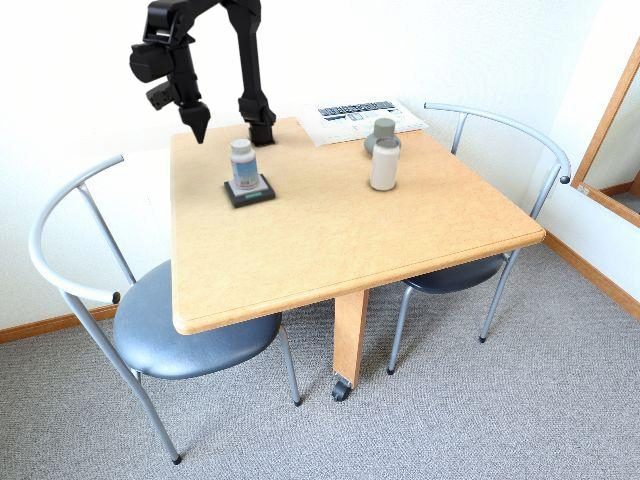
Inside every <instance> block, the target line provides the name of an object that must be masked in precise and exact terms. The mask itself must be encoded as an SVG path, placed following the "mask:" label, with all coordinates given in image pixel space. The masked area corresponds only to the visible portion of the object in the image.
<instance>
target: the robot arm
mask: <svg viewBox="0 0 640 480" xmlns="http://www.w3.org/2000/svg"><path fill="white" fill-rule="evenodd" d="M217 5H220V6H221V7H222V8H223V9H225V10H226V13H227V16H228V21H229V23H230V25H231V26H232V28H233V30H234V31H235V33H236V37H237V45H238V53H239V61H240V70H241V78H242V86H243V91H242V94H241V96H240V97H238V98H237V104H238V112H239V114H240V116H241V117H242V119H243V121H244V123H245V124H249V126H248V128H247V130H248V136H249V137H248V138H249V141H250V142H251V144H253V146H254V147H255V148H258V147H262V146H269V145H273V144H276V141H275V140H274V134H273V126H275V124H276V122H277V115H276V113H275V112H274V111H273V110H272V109H271V108H270V104H269V99H268V98H267V96H266V94H265V92H264V91H263V90H262V81H261V71H260V61H259V60H260V59H259V50H258V49H259V48H258V38H257V37H258V36H257V31H258V30H259V27H260V24H261V23H262V3H261V0H153V1H151V2H150V3H149V4H148V5H147V7H146V8H147V13H146V20H145V25H144V29H143V35H142V42H143V43H134V44H131V46H130V49H131V53H130V54H129V59H128V60H129V61H128V62H129V63H128V66H129V68H130V71H131V72H132V74H133V76H134V77H135V78H136V79H137V80H138V81H139V82H141V83H143V84H149V83H152V82H153V81H157V80H159V79H162V78H165V77H166V79H167V80H166V81H164V82H161V83H160V84H157V85H156V86H154V87H152V88H151V89H149V90H147V91H146V92H145V96H146V97H145V98H146V99H147V100H148V102H149V104H150V105H151V106H152V107H153V108H154V110H155V111H157V112H158V111H160V110H162V109H163V108H164V107H166V106H167V105H169V104H172V103H173V104H174V105H175V106H177V108H178V109H177V111H178V115H179V117H180V121H181V123H182V124H183V125H185V126H188V127H190V129H191V131H192V133H193V136H194V138H195V141H196V142H197V144H198V145H203V144H204V140H205V138H206V134H207V129H208V126H209V125H208V124H209V122H210V121H211V119H212V116H211V115H212V114H211V109H210V108H209V106H208V105H207V104H206V103H205V102H203V101H202V100H203V97H202V93H201V92H200V89H199V84H198V81H199V78H198V74H197V73H196V70H195V65H194V61H193V58H192V52H191V49H190V48H191V47H190V45H191V44H195V43H196V42H197V41H196V38H195V37H194V36H191V34H189V33H188V32H189V31H190V30H191V29H192V28H193V27H194V26H195V22H196V19H197V18H198V17H199V16H201V15H203V14H204V13H206V12H207V11H209V10H210V9H212V8H214V7H215V6H217Z"/></svg>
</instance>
